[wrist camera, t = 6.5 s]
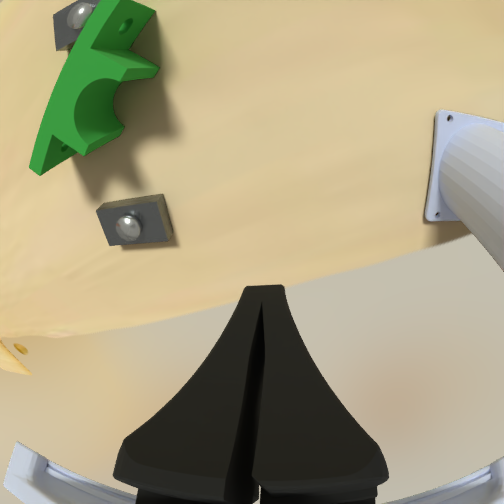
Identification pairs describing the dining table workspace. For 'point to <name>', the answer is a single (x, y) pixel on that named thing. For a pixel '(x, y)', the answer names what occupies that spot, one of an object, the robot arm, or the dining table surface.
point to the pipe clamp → (92, 84)
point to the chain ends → (129, 210)
